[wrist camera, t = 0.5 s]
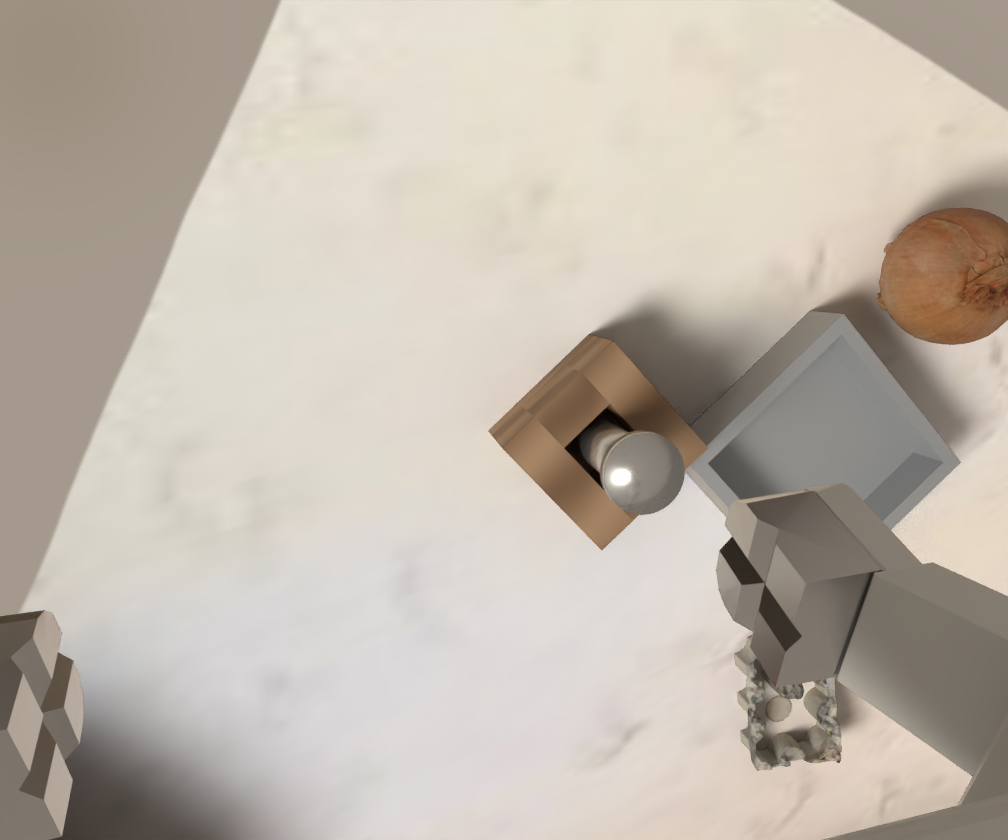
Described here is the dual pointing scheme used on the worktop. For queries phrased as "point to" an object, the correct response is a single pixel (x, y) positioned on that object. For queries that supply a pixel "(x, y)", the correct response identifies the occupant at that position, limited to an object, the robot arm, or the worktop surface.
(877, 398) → the grey tray
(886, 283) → the onion
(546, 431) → the socket block
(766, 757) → the egg carton
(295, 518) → the worktop surface
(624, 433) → the steel pin
